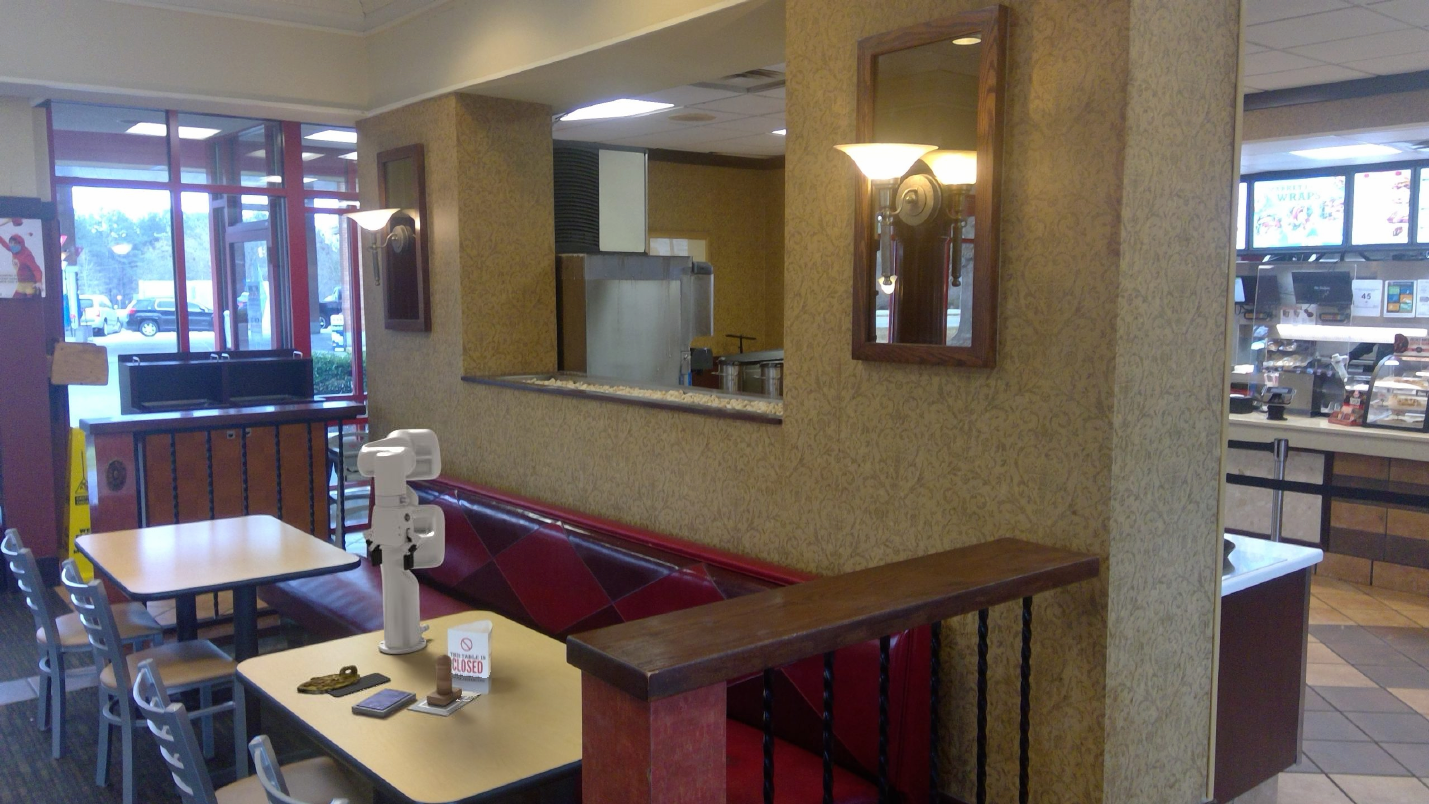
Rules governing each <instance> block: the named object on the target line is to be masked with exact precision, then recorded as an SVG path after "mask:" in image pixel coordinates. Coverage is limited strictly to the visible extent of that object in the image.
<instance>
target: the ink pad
mask: <svg viewBox="0 0 1429 804" xmlns="http://www.w3.org/2000/svg"><path fill="white" fill-rule="evenodd" d="M415 700H417V692H410V691H404V690H399V689H398V690H397V689H394V688H393V689H391V688H387V687H385V688H383V689H381V690H380V691H378V692H376V693H374V694H372V695H370V696H368V697H367V698H365V699H363V700H361V701H359V702H357V703H355V704H353V705H352V706H351V713H353V714H354V713H355V714H358V715H359V714H360V715H365V716H369V717H375V718H380V719H384V718H386V717H387V716H389V715H391V714H393V713H394V712H396V711H398V710H400V709H402V708H404V707H405V706H406V705H408V704H410V703H411V702H414V701H415Z"/></svg>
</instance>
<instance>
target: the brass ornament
mask: <svg viewBox="0 0 1429 804" xmlns="http://www.w3.org/2000/svg"><path fill="white" fill-rule="evenodd" d="M347 671H349V672H347ZM358 672H359V671H358V668H357V666H356V665H355V664H354V665H353V664H352V665H347V666H342V667H341V668H340V670H339V673H332V674H328V675H327V674H326V675H323V676H314V677H311V678H310V679H309V680H307V681H305V682H302V683H300V684H299V685H298V686H297V687H296V690H297V692H303V693H305V694H308V695H309V694H310V695H311V694H312V695H313V694H314V695H317V694H327V693H326V692H327V691H332V690H337V689H341V688H344V687H347V686H350V685H352V684H354V683H355V682H357V681H358V680H359V679H360V677H361V675H360V674H359V673H358Z"/></svg>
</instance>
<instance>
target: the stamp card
mask: <svg viewBox="0 0 1429 804" xmlns="http://www.w3.org/2000/svg"><path fill="white" fill-rule="evenodd" d="M474 697H476V696H474ZM474 697H473V696H471V697H470V696H468V695H467V696H461V698H459V699H458V700H460V701H454V702H453V703H451V704H449V705H448V706H446V707H439V706H433V705H427V696H425V697H423V698H422V699H420V700H418V701H417V702H415V703H414V704H412V705H410V706H408V707H407V708H406V710H408V711H413V712H419V713H425V714H430V715H435V714H437V715H436V716H441V715H444V716H443V717H448V716H449V715H448V714H450V713H451V714H453V713H454V712H456V711H457V710H458V709H457V708H459V707H461V706H462V707H464V706H465V705H466V704H465V703H467V702H468V703H469V701H463V700H471V699H473V698H474ZM476 698H477V697H476ZM473 700H474V699H473ZM468 703H467V704H468ZM464 704H465V705H464ZM463 705H464V706H463ZM462 707H461V708H462ZM456 709H457V710H456ZM459 709H460V708H459ZM455 710H456V711H455ZM453 711H454V712H453ZM452 712H453V713H452ZM451 714H450V715H451ZM447 715H448V716H447Z"/></svg>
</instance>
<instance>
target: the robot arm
mask: <svg viewBox="0 0 1429 804" xmlns="http://www.w3.org/2000/svg"><path fill="white" fill-rule="evenodd" d="M440 448H441V447H440V443H439V439H438V436H437V434H436V433H435V432H434V431H433V430H432V429H429V428H420V429H419V428H414V429H413V428H411V429H408V428H407V429H403V428H402V429H397V430H394V431H391V432H390V433H388V434H387V436H386V438H382V439H379V440H376V441H372V442H367V443H365V444H363V445H362V447H361V448H360V450H359V452H358V455H357V459H356V462H357V463H356V465H357V469H358V472H359V474H361V476H363V477H366V478H368V477H369V478H372V477H373V478H374V496H375V497H374V502H375V505H374V506H373V508H372V513H371V515H372V516H371V527H370V528H368V529H366V530H365V531H363V532H362V536H363V539H364V540H365V544H366V546H368V550H369V551H370V552H371V566H372V567H377V566H380V572H381V579H382V581H381V582H382V609H383V640H381V641H380V642H379V643H378V650H379V651H380V652H382V653H384V654H392V655H399V654H402V655H403V654H409V653H413V652H417V651H419V650H423V648H425V647H426V645H427V640H426V638H424V637H423V633H424V632H425V633H426V632H427V631H429V630H430V625H429V623H425V624H422V625H421V619H420V618H421V617H420V616H421V615H420V613H421V611H420V586H419V582H418V579H417V577H416V576H415V574H413V573H412V572H411V570H413V569H427V568H436V567H439V566H441V564H443V562H444V559H445V554H446V553H445V551H446V550H445V548H446V546H445V544H446V543H445V541H446V538H445V536H446V531H445V529H446V526H445V525H446V520H445V514H444V511H443V509H442V507H441V506H439V505H436V504H419V495H418V493H417V492H416V491H415V490H414V489H413V488H412V487H411V486H410V485H409V484H407V481H423V480H425V481H426V480H434V479H436V478H438V477H439V476H440V474H441V472H442V471H441V470H442V459H441V457H442V456H441V450H440Z"/></svg>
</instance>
